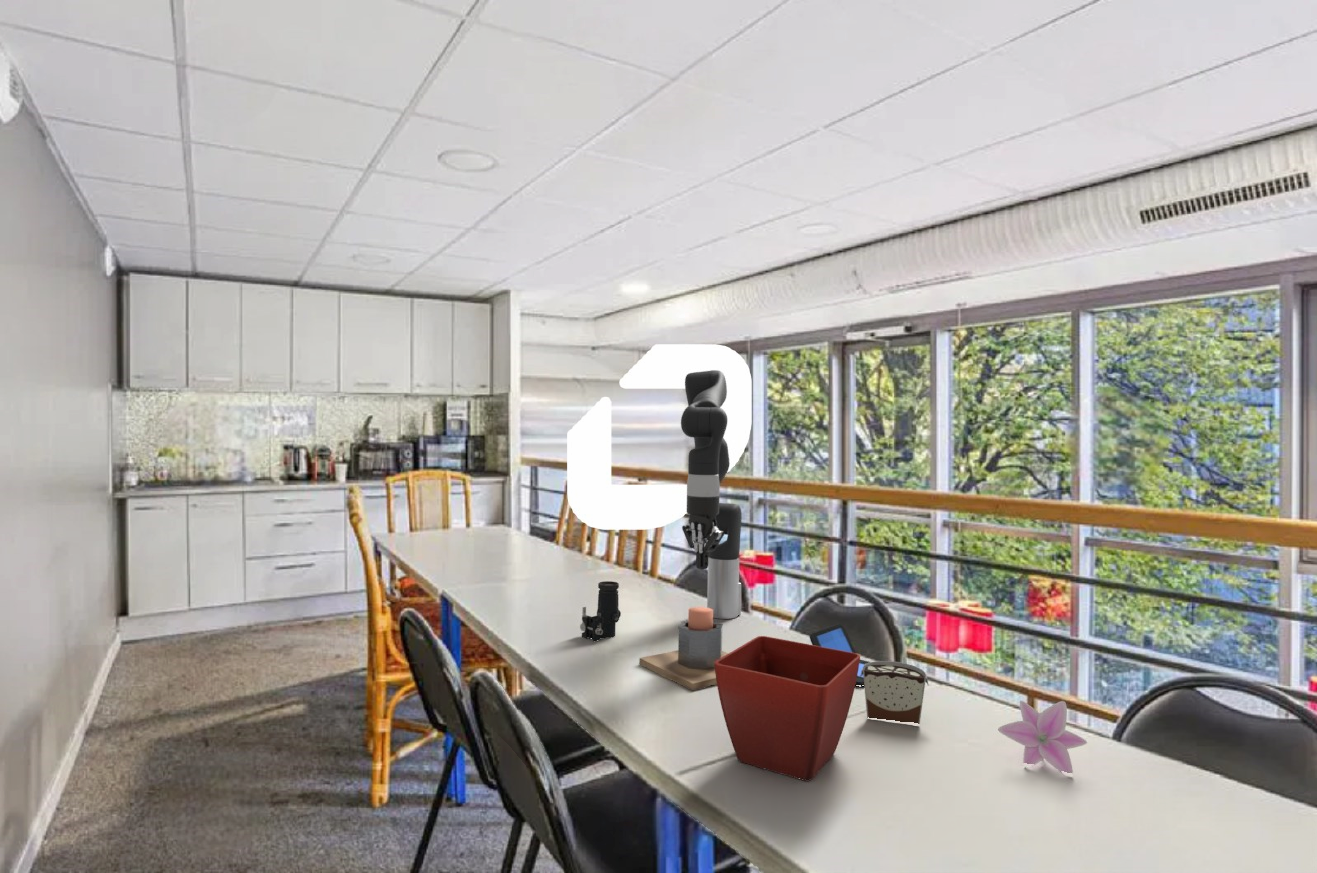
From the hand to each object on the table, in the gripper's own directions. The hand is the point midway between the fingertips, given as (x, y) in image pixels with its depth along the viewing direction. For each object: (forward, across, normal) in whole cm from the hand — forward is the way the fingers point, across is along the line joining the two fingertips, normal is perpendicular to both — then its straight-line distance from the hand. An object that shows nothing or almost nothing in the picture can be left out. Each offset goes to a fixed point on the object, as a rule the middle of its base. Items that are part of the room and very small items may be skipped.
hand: (701, 568), depth 166 cm
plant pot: (+22, -44, +18) cm, 53 cm away
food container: (+23, -44, -12) cm, 51 cm away
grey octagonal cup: (+21, -1, +1) cm, 21 cm away
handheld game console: (+23, -22, -26) cm, 41 cm away
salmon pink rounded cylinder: (+15, -1, +1) cm, 15 cm away
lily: (+23, -70, -17) cm, 75 cm away
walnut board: (+23, -1, +1) cm, 23 cm away
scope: (+23, +33, +6) cm, 40 cm away
